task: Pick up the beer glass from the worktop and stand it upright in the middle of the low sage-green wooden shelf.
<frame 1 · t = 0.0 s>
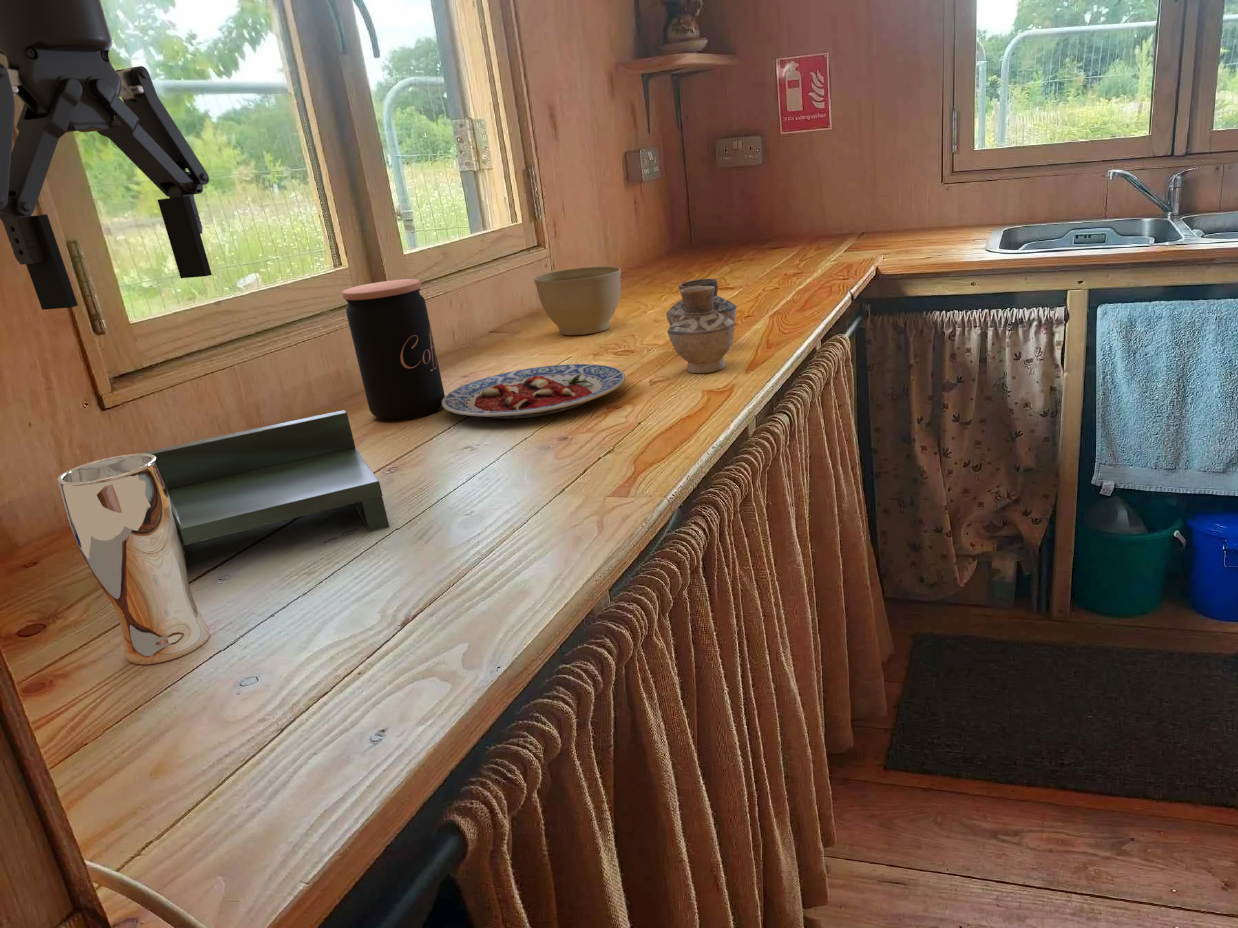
hand: (133, 291, 78), 26 cm above the counter, tool pointing down, fingers open, 13 cm apart
shelf: (267, 533, 99), on the counter
coffee jar: (409, 413, 140), on the counter
planter bowl: (586, 332, 184), on the counter
ceramic plate: (537, 403, 137), on the counter
beer glass: (170, 647, 77), on the counter
pottery: (706, 359, 151), on the counter
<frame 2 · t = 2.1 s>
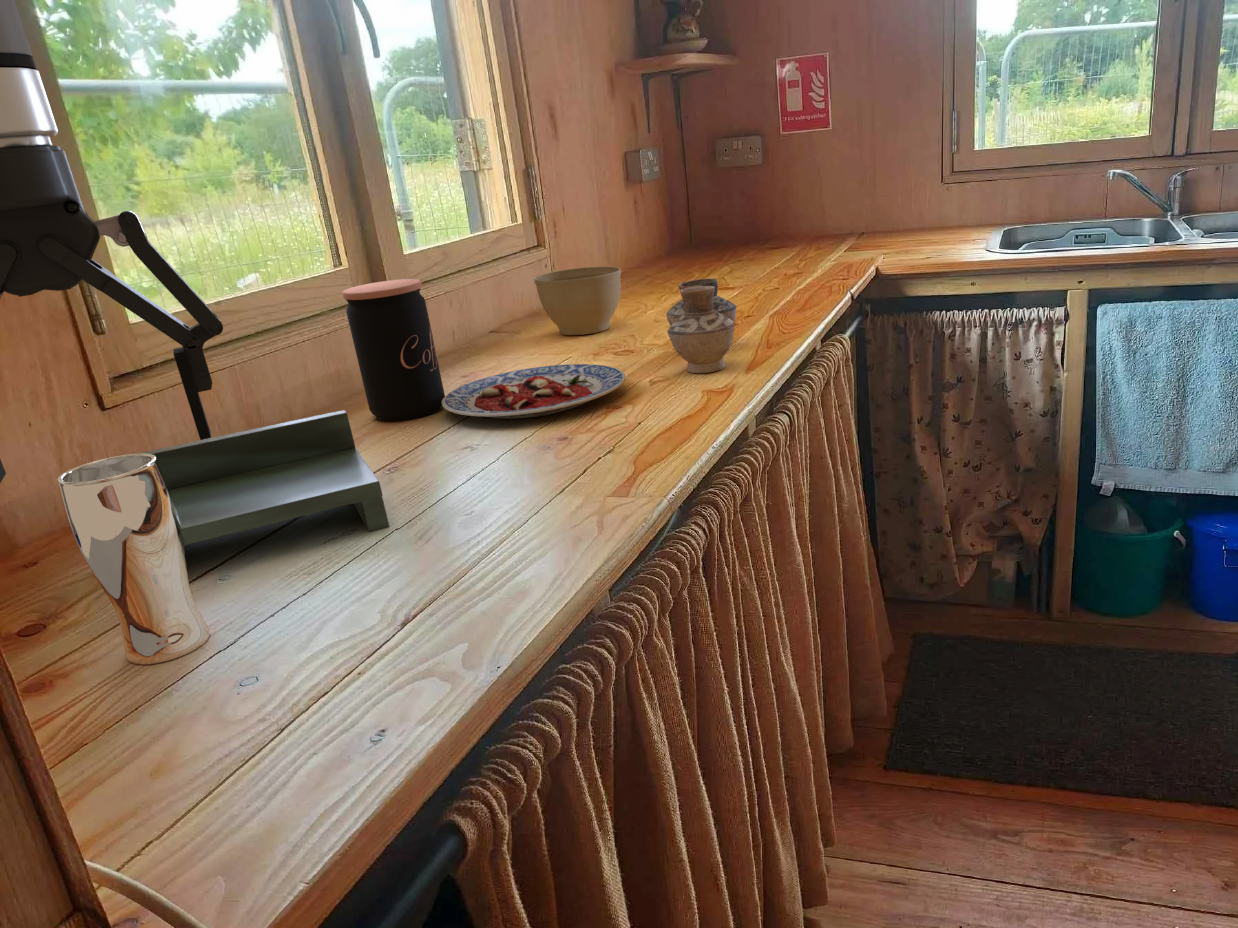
hand: (105, 457, 71), 16 cm above the counter, tool pointing down, fingers open, 13 cm apart
nothing on the counter moved.
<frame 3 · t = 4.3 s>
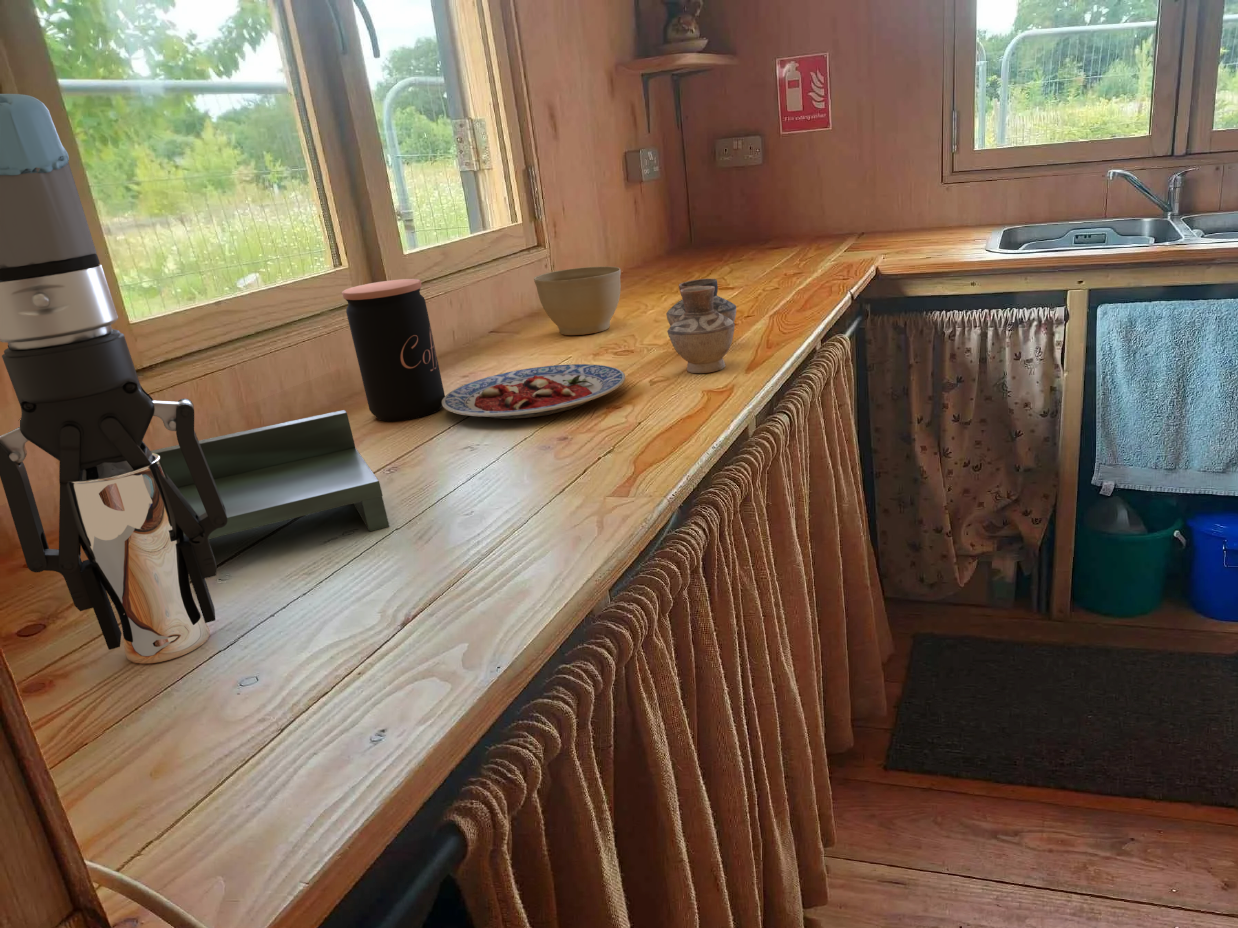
hand: (163, 627, 76), 2 cm above the counter, tool pointing down, fingers closed on beer glass, 6 cm apart
beer glass: (170, 647, 77), on the counter, touching gripper
everything else where it was.
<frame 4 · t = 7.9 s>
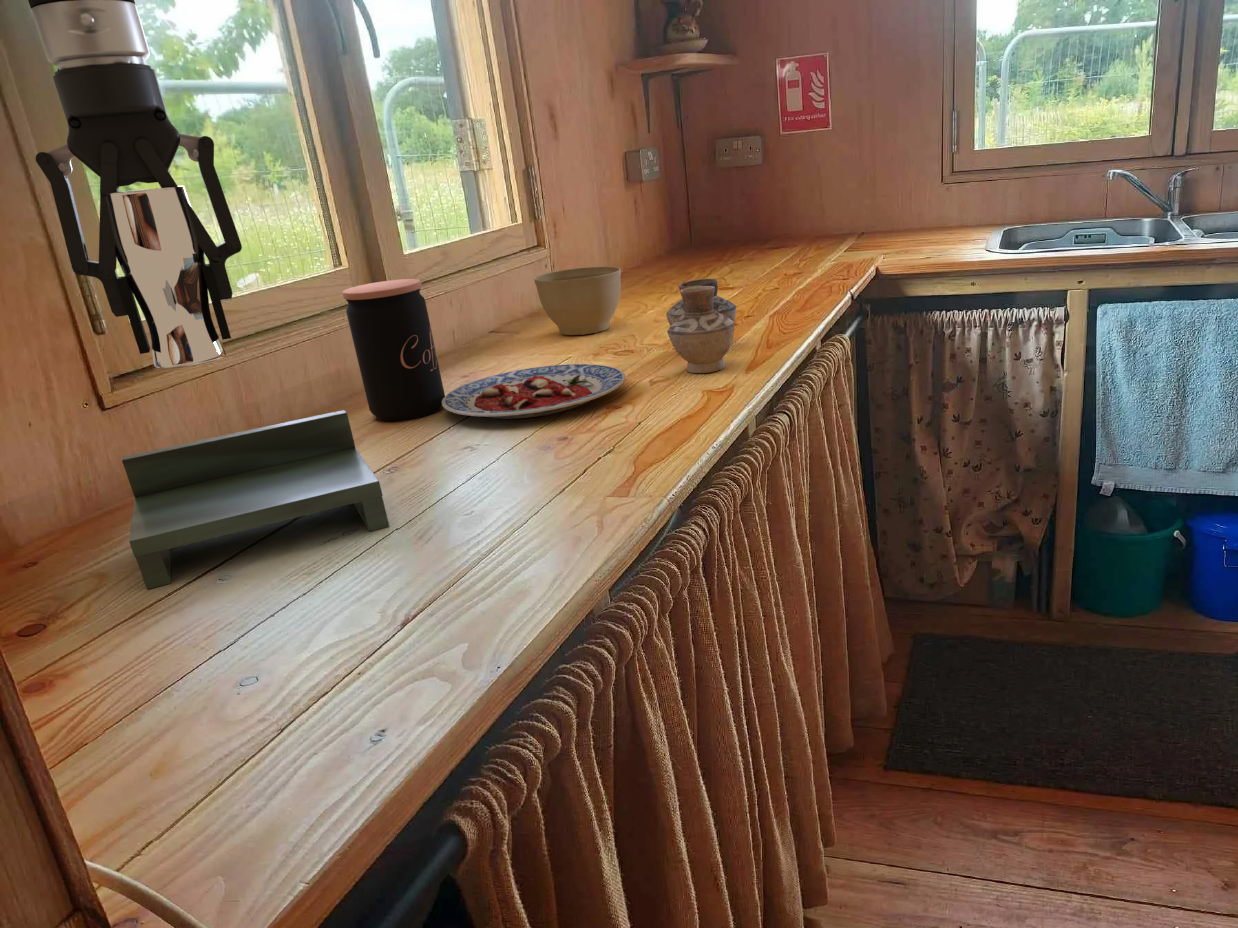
hand: (186, 343, 88), 20 cm above the counter, tool pointing down, fingers closed on beer glass, 6 cm apart
beer glass: (191, 363, 89), point 18 cm above the counter, touching gripper
everything else where it was.
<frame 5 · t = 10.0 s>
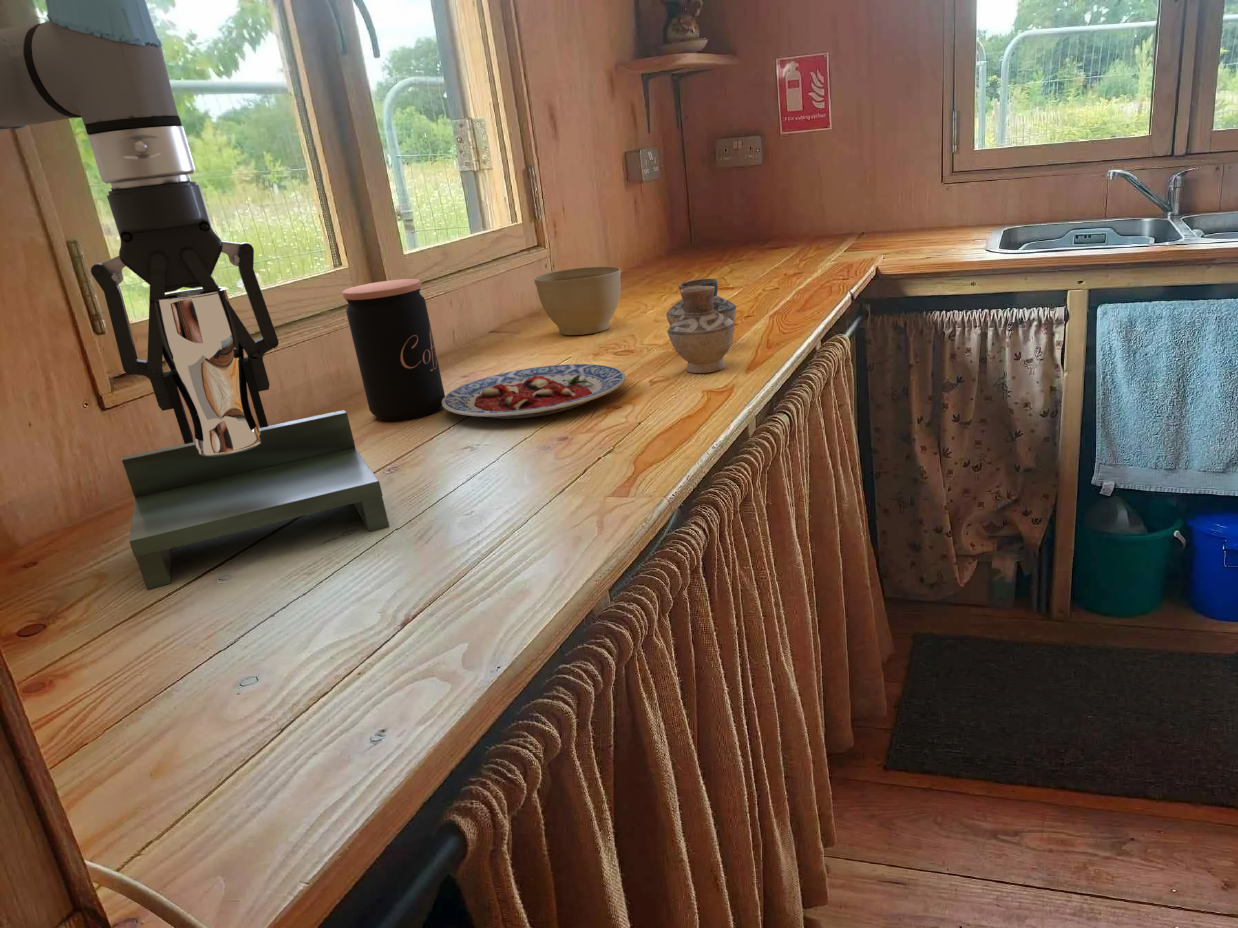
hand: (226, 431, 94), 11 cm above the counter, tool pointing down, fingers closed on beer glass, 6 cm apart
beer glass: (231, 449, 95), point 9 cm above the counter, touching gripper
everything else where it was.
when the fingers open (7 cm above the counter, at t = 11.5 s): beer glass stays where it is, resting on shelf.
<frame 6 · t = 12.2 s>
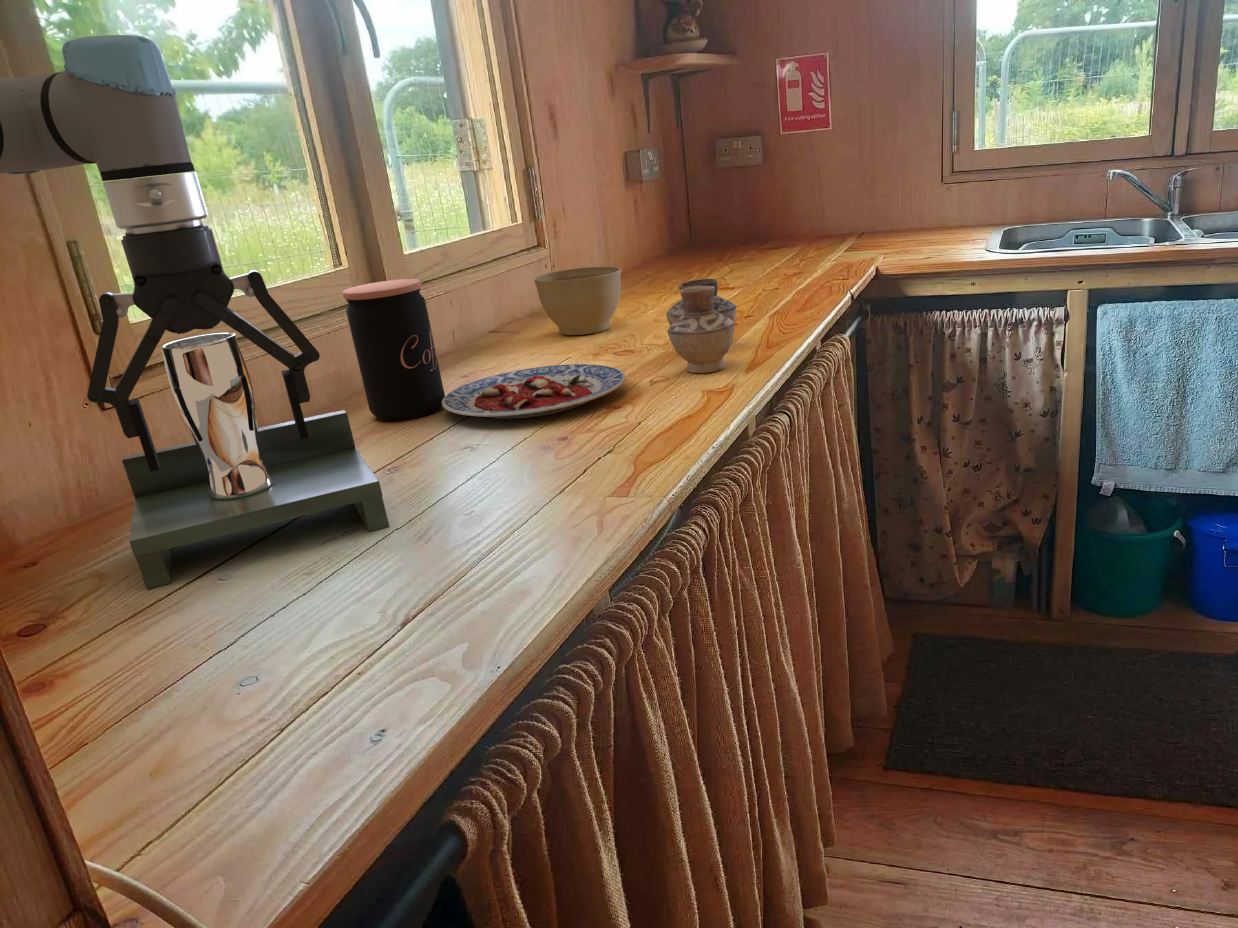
hand: (231, 451, 95), 9 cm above the counter, tool pointing down, fingers open, 13 cm apart
beer glass: (243, 490, 97), point 5 cm above the counter, touching shelf
everything else where it was.
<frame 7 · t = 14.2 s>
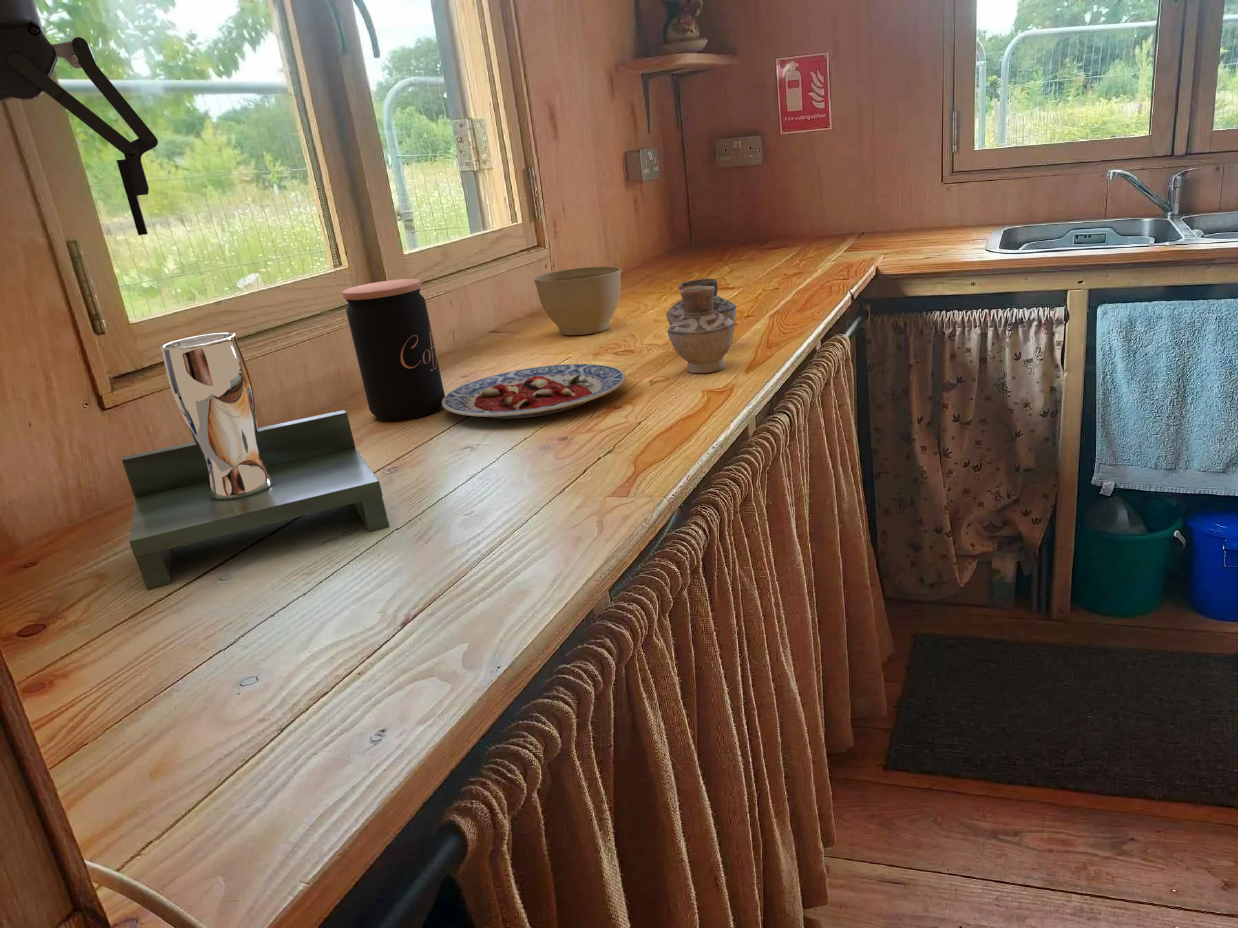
hand: (59, 244, 87), 30 cm above the counter, tool pointing down, fingers open, 13 cm apart
nothing on the counter moved.
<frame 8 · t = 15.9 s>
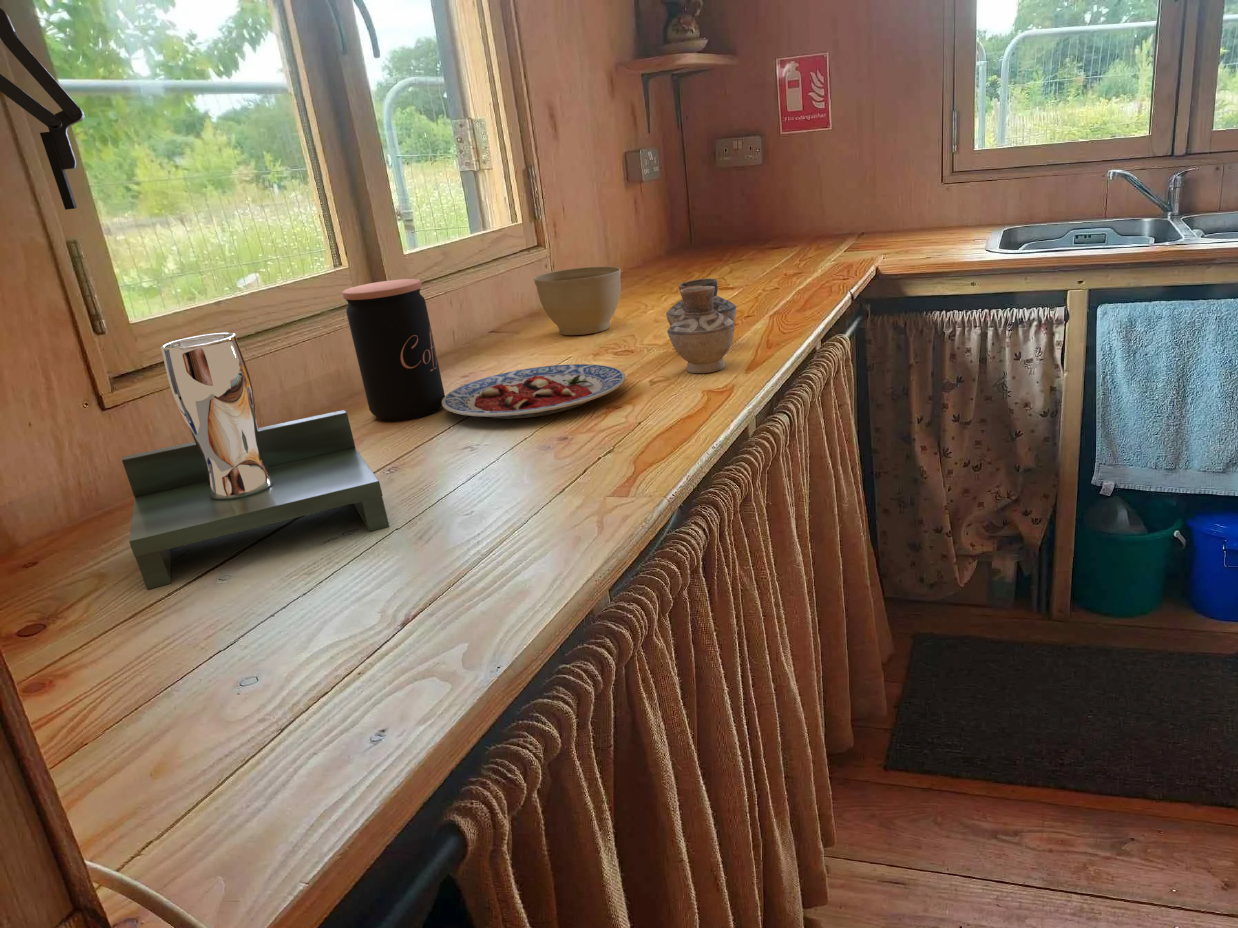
nothing on the counter moved.
at the end: beer glass inside the target area on the shelf (1.0 cm from its centre), point 4.8 cm above the shelf's base; beer glass tilted 0°; the gripper is holding nothing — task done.
